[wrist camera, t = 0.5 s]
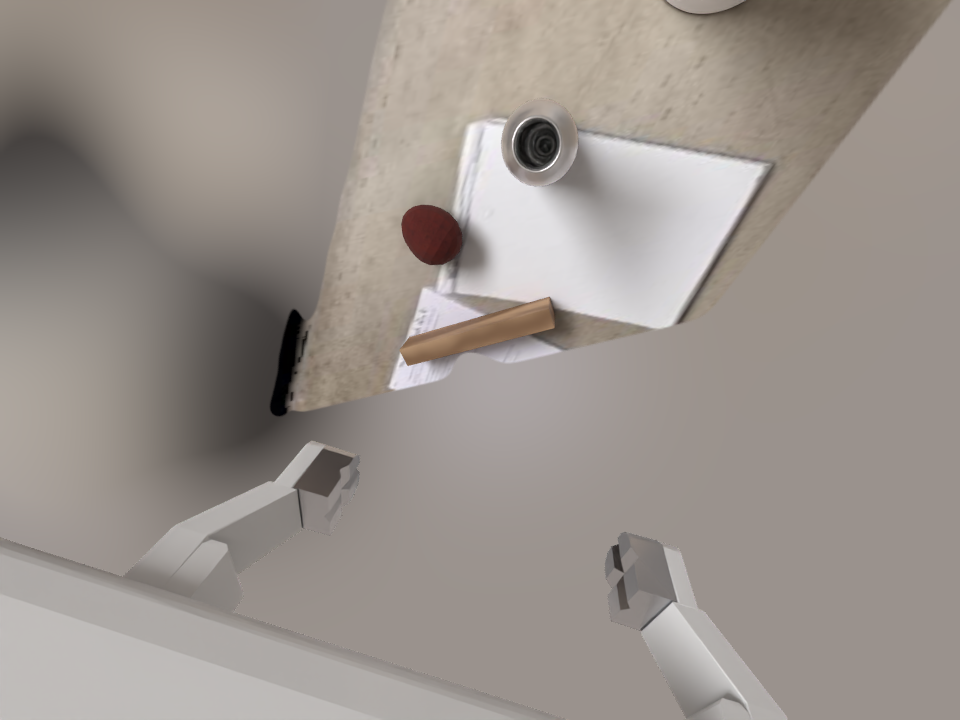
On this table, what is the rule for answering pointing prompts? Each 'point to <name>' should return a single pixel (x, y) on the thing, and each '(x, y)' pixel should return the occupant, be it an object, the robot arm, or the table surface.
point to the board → (480, 332)
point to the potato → (431, 234)
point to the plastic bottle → (539, 142)
